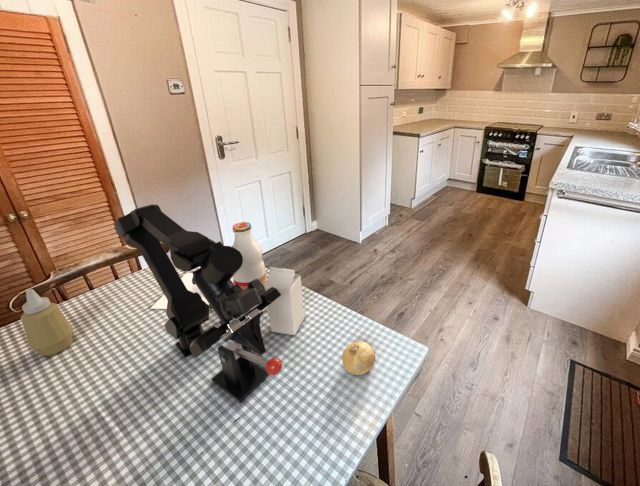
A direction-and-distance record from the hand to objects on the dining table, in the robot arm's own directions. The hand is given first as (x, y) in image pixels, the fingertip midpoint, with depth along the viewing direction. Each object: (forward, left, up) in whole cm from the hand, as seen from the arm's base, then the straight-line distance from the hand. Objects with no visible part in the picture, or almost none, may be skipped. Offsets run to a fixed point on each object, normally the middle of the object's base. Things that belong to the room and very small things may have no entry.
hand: (263, 353), depth 61 cm
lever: (-3, -1, -5) cm, 6 cm away
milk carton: (-16, +16, -14) cm, 27 cm away
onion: (+9, +19, -14) cm, 25 cm away
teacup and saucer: (-53, +6, -14) cm, 55 cm away
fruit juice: (-31, +14, -14) cm, 37 cm away
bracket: (-10, -2, -14) cm, 17 cm away
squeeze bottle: (-55, -29, -14) cm, 64 cm away
